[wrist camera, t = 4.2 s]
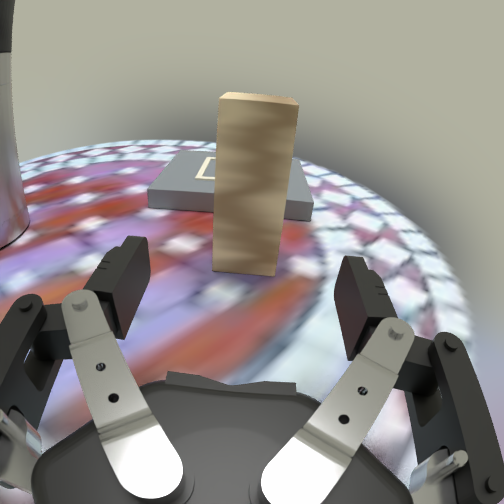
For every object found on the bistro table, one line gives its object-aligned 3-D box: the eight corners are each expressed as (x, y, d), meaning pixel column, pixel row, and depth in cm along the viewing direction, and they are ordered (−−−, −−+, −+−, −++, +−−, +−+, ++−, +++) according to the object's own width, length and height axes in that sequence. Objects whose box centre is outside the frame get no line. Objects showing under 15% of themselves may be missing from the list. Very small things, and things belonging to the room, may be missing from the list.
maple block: (212, 270, 23) (219, 98, 17) (219, 238, 27) (227, 91, 20) (274, 276, 23) (299, 105, 17) (273, 243, 27) (292, 97, 20)
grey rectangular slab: (148, 207, 31) (147, 187, 30) (180, 164, 42) (180, 148, 41) (310, 221, 31) (314, 200, 30) (297, 173, 43) (299, 158, 42)
